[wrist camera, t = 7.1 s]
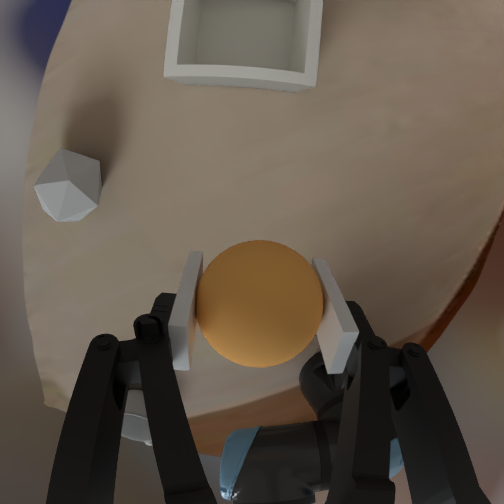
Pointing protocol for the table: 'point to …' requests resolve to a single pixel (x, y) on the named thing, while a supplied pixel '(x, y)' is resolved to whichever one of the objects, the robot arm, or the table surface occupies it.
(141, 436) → the teacup
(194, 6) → the white open box
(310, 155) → the table surface
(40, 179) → the die
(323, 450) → the robot arm
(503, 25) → the table surface
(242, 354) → the ball
